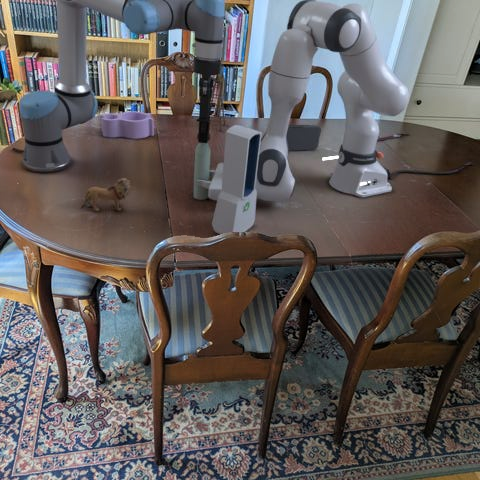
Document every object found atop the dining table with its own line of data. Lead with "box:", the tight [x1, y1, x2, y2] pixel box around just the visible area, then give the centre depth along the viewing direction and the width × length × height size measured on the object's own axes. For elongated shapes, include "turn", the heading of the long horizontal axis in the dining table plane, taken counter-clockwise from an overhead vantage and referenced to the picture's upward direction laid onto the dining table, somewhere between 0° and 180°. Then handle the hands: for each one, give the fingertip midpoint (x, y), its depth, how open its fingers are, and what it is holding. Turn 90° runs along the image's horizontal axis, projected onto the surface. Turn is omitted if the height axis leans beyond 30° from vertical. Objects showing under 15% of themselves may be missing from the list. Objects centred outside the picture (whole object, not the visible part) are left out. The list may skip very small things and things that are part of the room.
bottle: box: [192, 142, 211, 201], centre depth 145 cm, size 5×5×20 cm
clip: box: [100, 110, 155, 140], centre depth 188 cm, size 20×12×7 cm, turn 109°
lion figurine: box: [80, 177, 132, 212], centre depth 136 cm, size 15×5×9 cm, turn 110°
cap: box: [196, 132, 211, 142], centre depth 139 cm, size 4×4×2 cm
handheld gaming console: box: [287, 124, 322, 152], centre depth 189 cm, size 23×3×10 cm, turn 108°
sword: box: [377, 133, 409, 142], centre depth 213 cm, size 31×3×1 cm, turn 126°
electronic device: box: [211, 124, 263, 235], centre depth 127 cm, size 12×8×30 cm, turn 148°
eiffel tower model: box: [209, 56, 226, 132], centre depth 198 cm, size 9×8×30 cm
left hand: (203, 139), depth 140 cm, fingers open, 4 cm apart
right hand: (198, 177), depth 147 cm, fingers closed on bottle, 5 cm apart
